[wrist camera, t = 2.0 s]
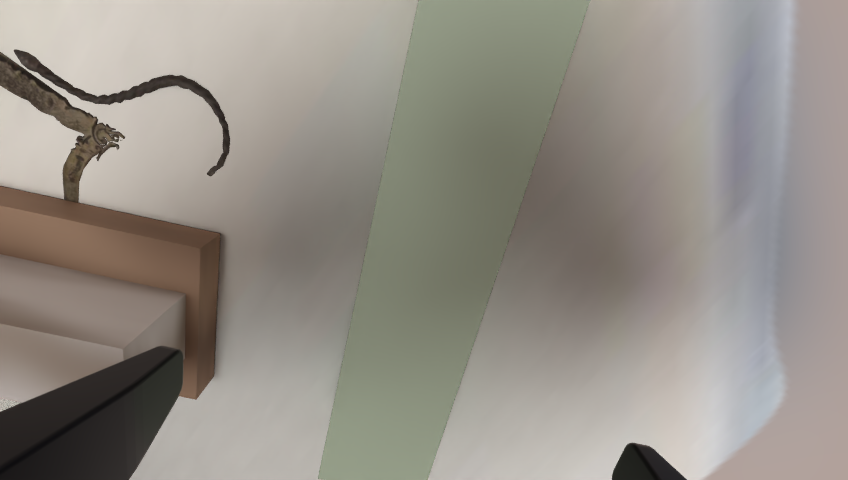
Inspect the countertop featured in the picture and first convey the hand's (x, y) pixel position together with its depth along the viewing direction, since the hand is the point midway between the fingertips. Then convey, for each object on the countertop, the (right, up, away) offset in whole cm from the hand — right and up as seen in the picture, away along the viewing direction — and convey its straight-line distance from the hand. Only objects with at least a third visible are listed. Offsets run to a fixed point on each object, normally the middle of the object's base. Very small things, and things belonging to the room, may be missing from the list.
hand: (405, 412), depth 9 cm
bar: (+1, +3, +9) cm, 9 cm away
